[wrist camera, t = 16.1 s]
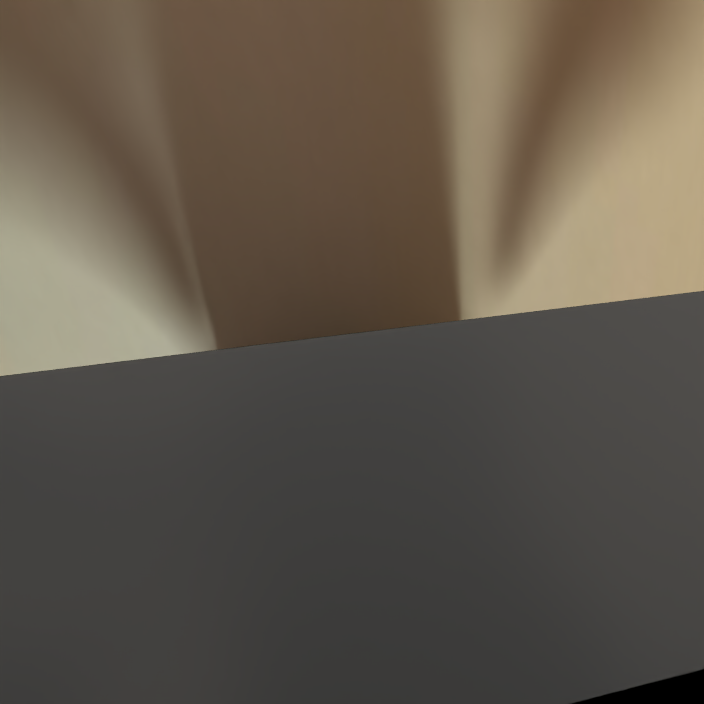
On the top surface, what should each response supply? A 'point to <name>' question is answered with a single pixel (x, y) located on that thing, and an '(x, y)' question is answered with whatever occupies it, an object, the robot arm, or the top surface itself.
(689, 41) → the top surface
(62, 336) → the top surface
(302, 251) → the top surface
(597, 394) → the pale grey box
